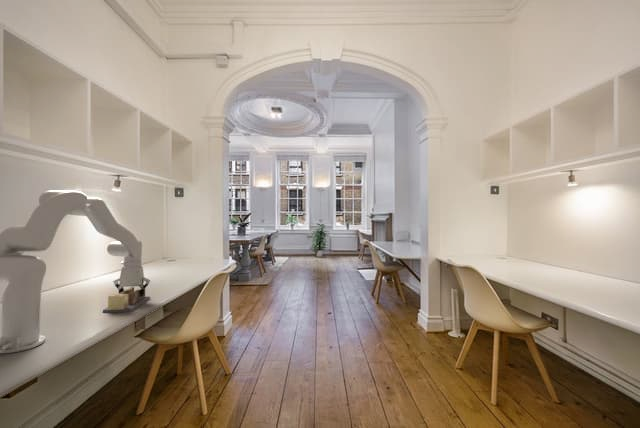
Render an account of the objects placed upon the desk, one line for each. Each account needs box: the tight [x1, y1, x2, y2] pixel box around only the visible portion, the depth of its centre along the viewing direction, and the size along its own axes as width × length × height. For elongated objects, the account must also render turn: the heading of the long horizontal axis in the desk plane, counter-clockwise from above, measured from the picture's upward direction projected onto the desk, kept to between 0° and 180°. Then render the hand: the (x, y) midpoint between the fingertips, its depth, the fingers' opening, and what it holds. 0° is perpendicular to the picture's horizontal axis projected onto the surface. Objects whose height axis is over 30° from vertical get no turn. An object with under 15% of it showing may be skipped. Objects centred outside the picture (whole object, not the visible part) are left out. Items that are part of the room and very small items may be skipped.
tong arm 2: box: [129, 287, 146, 304], centre depth 150 cm, size 15×2×5 cm, turn 10°
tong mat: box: [102, 295, 151, 314], centre depth 146 cm, size 22×12×1 cm, turn 10°
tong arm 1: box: [118, 286, 135, 299], centre depth 149 cm, size 15×2×5 cm, turn 10°
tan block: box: [107, 293, 128, 310], centre depth 136 cm, size 4×7×6 cm, turn 100°
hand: (131, 296), depth 150 cm, fingers open, 9 cm apart
